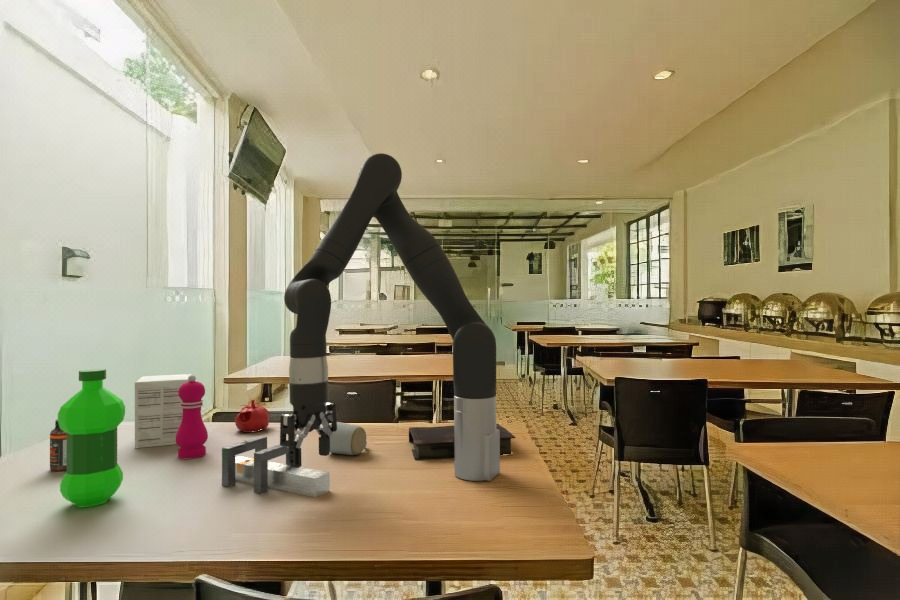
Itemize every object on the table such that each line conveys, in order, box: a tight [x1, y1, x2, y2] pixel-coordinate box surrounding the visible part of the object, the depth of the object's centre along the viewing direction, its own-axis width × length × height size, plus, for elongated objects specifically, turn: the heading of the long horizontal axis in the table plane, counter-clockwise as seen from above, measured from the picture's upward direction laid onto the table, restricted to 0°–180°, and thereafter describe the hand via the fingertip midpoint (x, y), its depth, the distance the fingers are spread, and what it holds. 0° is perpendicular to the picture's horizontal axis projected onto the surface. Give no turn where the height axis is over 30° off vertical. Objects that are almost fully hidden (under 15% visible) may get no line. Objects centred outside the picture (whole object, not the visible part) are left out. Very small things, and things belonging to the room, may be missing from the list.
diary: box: [408, 423, 516, 461], centre depth 133 cm, size 19×25×5 cm
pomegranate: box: [234, 398, 270, 433], centre depth 155 cm, size 10×10×9 cm
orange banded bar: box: [235, 455, 331, 498], centre depth 107 cm, size 26×4×4 cm, turn 63°
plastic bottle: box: [57, 368, 126, 508], centre depth 98 cm, size 10×11×25 cm
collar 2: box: [253, 443, 290, 494], centre depth 107 cm, size 2×11×8 cm, turn 154°
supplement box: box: [134, 373, 194, 449], centre depth 143 cm, size 13×13×18 cm
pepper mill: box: [175, 374, 209, 460], centre depth 128 cm, size 7×7×20 cm
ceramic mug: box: [330, 421, 368, 456], centre depth 130 cm, size 11×8×8 cm
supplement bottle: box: [49, 418, 67, 472], centre depth 119 cm, size 6×6×11 cm
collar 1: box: [221, 435, 268, 488], centre depth 110 cm, size 2×11×8 cm, turn 154°
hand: (310, 460), depth 102 cm, fingers open, 8 cm apart
